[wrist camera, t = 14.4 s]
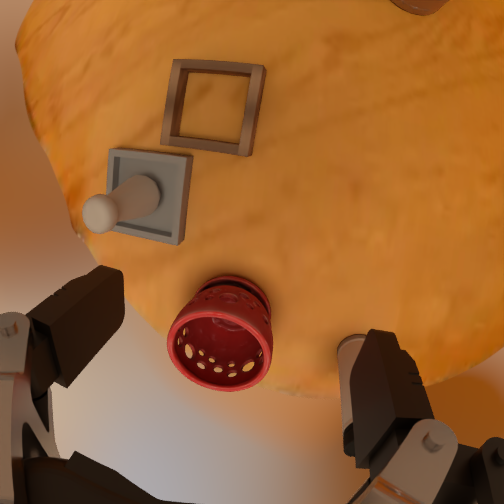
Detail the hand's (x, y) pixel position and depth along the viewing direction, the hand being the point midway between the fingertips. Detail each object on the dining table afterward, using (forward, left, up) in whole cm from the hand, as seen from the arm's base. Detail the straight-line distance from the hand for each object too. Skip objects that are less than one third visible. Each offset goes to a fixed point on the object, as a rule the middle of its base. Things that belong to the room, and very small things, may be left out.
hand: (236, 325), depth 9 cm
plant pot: (+20, -4, -32) cm, 38 cm away
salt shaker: (+5, -19, -32) cm, 37 cm away
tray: (+5, -19, -32) cm, 38 cm away
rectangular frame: (-8, -11, -32) cm, 35 cm away
